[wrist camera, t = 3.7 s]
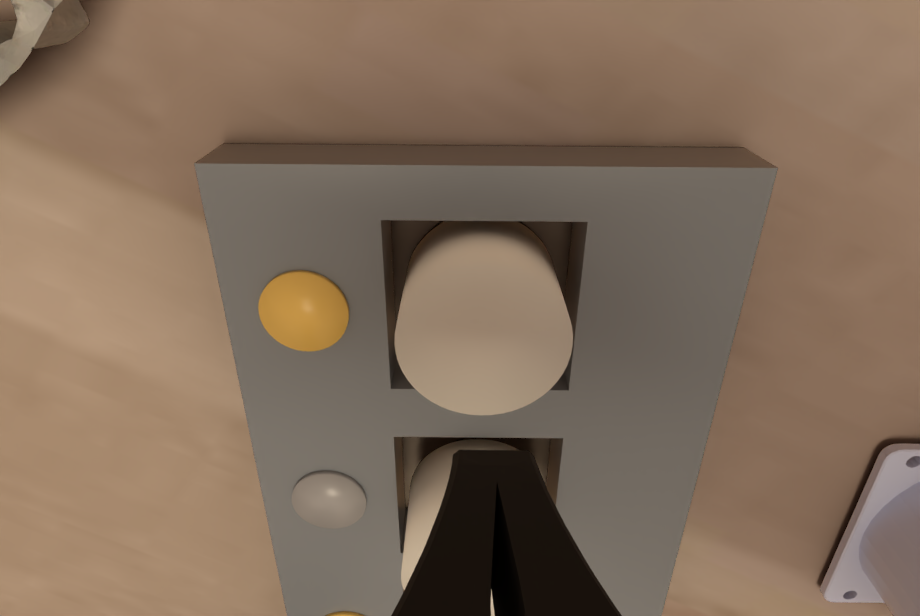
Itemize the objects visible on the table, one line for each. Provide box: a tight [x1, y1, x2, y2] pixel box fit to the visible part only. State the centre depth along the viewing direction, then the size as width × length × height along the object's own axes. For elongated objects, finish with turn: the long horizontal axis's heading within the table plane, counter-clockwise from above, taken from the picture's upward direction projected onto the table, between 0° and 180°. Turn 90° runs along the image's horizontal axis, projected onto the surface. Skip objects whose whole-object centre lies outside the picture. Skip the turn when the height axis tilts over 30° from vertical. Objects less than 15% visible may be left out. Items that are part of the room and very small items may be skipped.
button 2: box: [401, 439, 518, 616], centre depth 19 cm, size 4×4×3 cm
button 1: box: [394, 221, 573, 415], centre depth 16 cm, size 4×4×3 cm
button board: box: [194, 144, 778, 616], centre depth 21 cm, size 14×22×2 cm, turn 0°
